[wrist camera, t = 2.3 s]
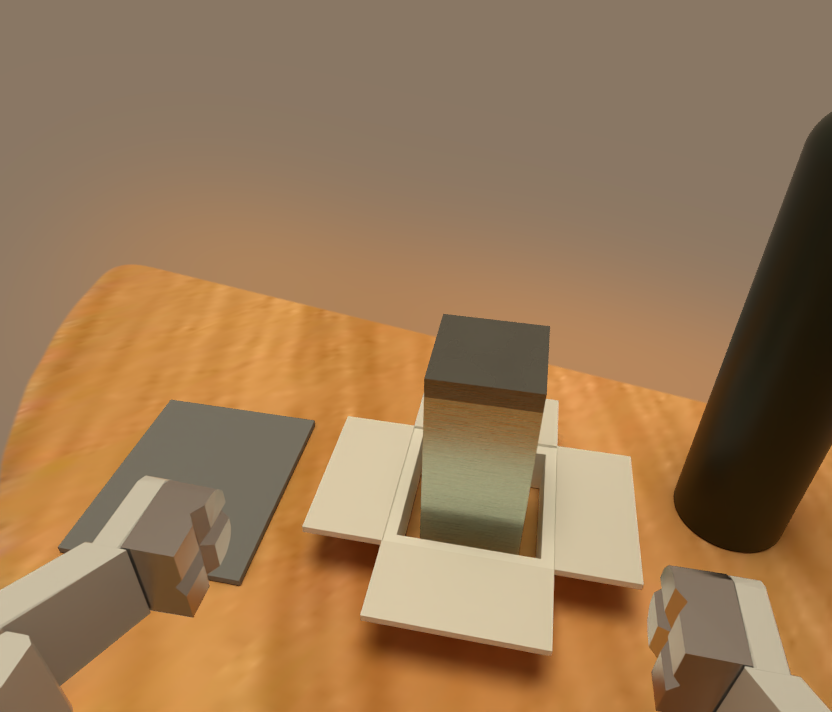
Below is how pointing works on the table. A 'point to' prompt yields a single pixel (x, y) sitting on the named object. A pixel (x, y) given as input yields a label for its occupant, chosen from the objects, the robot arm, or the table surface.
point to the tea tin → (481, 430)
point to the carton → (471, 567)
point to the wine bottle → (771, 378)
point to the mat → (210, 471)
